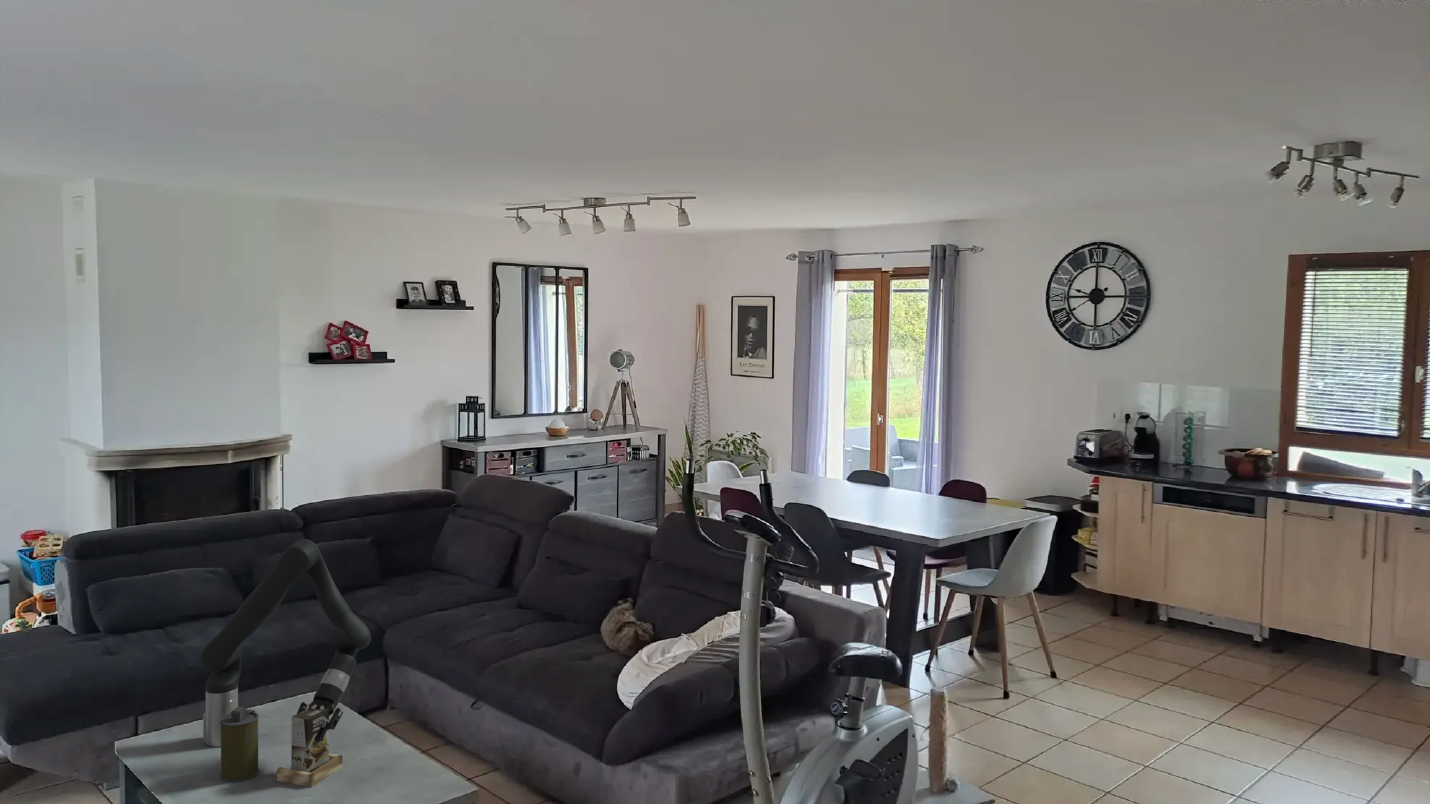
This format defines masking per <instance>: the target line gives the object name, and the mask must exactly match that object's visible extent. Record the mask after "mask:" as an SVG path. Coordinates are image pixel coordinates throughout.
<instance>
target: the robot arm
mask: <svg viewBox="0 0 1430 804" xmlns="http://www.w3.org/2000/svg"><path fill="white" fill-rule="evenodd" d="M304 573H306V574H307V576H308V577H309V578H310V579H309V580H310V581H311V582H312V585H313V586H314V590H315V592H316V597H317V601H318V603H319V606H320V608H321V610H322V612H323V614H324V615H325V617H326V618H327V619H328V621H329V623H330V625H332V627H334V628H335V629H340V630H341V631H342V632H343V634H342V635H340V636H341V637H339V641H338V643H337V645H336V649H335V655H334V657H333V659H332V660H331V662H330V665H329V667H328V669H327V671H326V672H325V674H324V675H323V677H322V679H321V681H320V683H319V685H318V687H317V689H316V692H315V693H314V695H313V700H312V701H311V702H310V703H306V702H304V701H302V702H301V703H300V705H299V707H298V710H297V712H296V714H298V713H300V712H302V711H304V710H307V709H309V708H312V709H315V708H320V709H322V710H324V709H329V721H328V720H327V719H326V717H325V716H324V718H323V722H322V724H321V725H322V728H320V729H319V731H318V733H317V735H316V737H315V741H316V742H320V741H322V740H323V738H324V736H325V734H326V732H327V731H328V730H329V731H330V730H332V731H333V730H335V729H336V727H337V726H338V723H339V721H340V720H341V718H342V716H343V714H344V711H343V710H342V709H341V708H340V707H337V706H338V705H339V703H340V701H341V699H342V697H343V695H344V693H345V690H346V688H347V686H348V684H349V681H350V679H351V676H352V674H353V673H354V670H355V667H356V664H357V660H356V658H355V657H356V655H357V653H358V652H359V651H360V650H363V649H365V648H367V647H368V646H370V643H371V641H372V634H371V631H370V629H369V628H368V626H367V625H366V624H365V623H364V622H363V621H362V620H361V619H360V618H359V617H358V616H357V615H356V614H354V612H353V610H352V609H351V608H350V606H349V605H348V603H347V601H346V600H345V599H344V596H342V594H341V592H340V591H339V588H338V587H337V585H336V583H335V582H334V579H333V578H332V575H331V574H330V571H329V569H328V566H327V565H326V562H325V560H324V557H323V555H322V553H321V550H320V549H319V547H318V545H317V544H316V543H315V542H314V541H312V540H310V539H307V538H305V539H299V540H298V541H295V542H294V543H293V544H291V545H289V546H288V547H287V548H286V549H285V550H284V551H283V553H282V554H281V556H280V557H279V560H277V562H276V564H275V566H274V567H273V568H272V570H271V572H269V574H268V575H267V576H266V577H265V578H264V579H263V580H262V581H261V582H260V583H259V584H258V585H257V586H256V587H255V588H254V589H253V591H252V592H251V593H249V595H248V596H247V597H246V598H245V600H244V601H242V603H241V605H240V606H239V607H238V609H237V610H236V611H235V613H234V614H233V615H232V616H231V617H230V619H229V621H228V622H227V623H226V625H225V626H224V627H223V628H222V630H221V631H219V632H218V634H216V636H214V638H212V640H211V641H209V643H208V644H206V645H205V646H204V647H203V649H202V650H201V652H200V656H199V661H200V665H201V667H202V668H203V670H205V671H207V672H210V676H208V678H207V680H206V681H205V712H204V713H202V714H203V715H202V716H203V717H202V718H203V719H202V725H203V726H202V728H203V729H202V730H203V731H202V733H203V734H202V735H203V743H205V744H206V745H207V746H210V747H221V723H220V719H221V718H222V717H223V716H225V715H227V714H230V713H231V711H232V710H234V709H235V708H237V707H239V687H238V686H239V680H240V677H241V673H242V672H241V671H242V669H241V668H242V649H241V645H242V643H243V642H245V641H246V640H247V639H248V638H249V637H250V636H252V635H253V634H254V633H255V632H257V631H258V630H259V629H260V628H261V627H262V626H263V625H264V624H265V623H266V622H267V621H268V620H269V619H270V617H271V616H273V614H274V613H275V612H276V610H277V609H278V608H279V606H280V605H281V603H282V602H283V599H284V597H285V595H286V593H287V591H288V590H289V588H291V586H292V585H293V584H294V583H295V582H296V581H297V580H298V579H299V578H300V577H301V576H302V575H304ZM331 715H332V716H331ZM330 716H331V717H330ZM326 722H327V724H326Z"/></svg>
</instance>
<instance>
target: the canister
mask: <svg viewBox="0 0 1430 804" xmlns="http://www.w3.org/2000/svg"><path fill="white" fill-rule="evenodd" d="M259 717H260V715H259V713H258V712H256V710H254V709H248V708H247V707H241V706H238V707H237V708H235V709H234V710H232V711H231V713H230V714H227V715H225V716H223V717H222V718H221V719H220V723H221V746H220V777H219V778H220V780H222V781H223V782H227V783H238V782H239V783H240V782H242V781H243V782H244V781H247V780H250V779H253V778H254V777H256V776H257V775H258V774H259V773H260V769H259Z"/></svg>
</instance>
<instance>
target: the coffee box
mask: <svg viewBox="0 0 1430 804" xmlns="http://www.w3.org/2000/svg"><path fill="white" fill-rule="evenodd" d="M324 716H325V717H326V719H327V720H328V721H329V709H324V710H322V709H320V708H315V709H312V708H309V709H307V710H304V711H302V712H300V713H298V714H297V713H296V714H294V715H292V716H291V739H290V740H291V742H290V743H291V746H290V747H291V749H290V750H291V751H290V752H291V753H290V755H291V761H290V762H291V763H290V764H291V765H290V769H291V768H292V769H296V770H300V771H304V772H309V771H310V770H312V769H314V768H316V767H318V766H320V765H322V764H323V763H325V762H327V761H329V753H330V730H328V731H327V732H326V734H325V736H324V738H323V740H322V741H320V742H316V741H315V737H316V735H317V733H318V731H319V729H320V728H322V725H321V724H322V722H323V718H324ZM326 724H327V722H326Z"/></svg>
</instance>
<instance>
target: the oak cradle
mask: <svg viewBox="0 0 1430 804" xmlns="http://www.w3.org/2000/svg"><path fill="white" fill-rule="evenodd" d="M341 768H343V755H341V754H337V753H335V754H334V753H330V752H329V761H327V762H325V763H323V764H322V765H320V766H318V767H316V768H314V769H312V770H310V771H309V772H304V771H300V770H296V769H292V768H291V767H290V768H287V767H281V766H279V767H278V768H276V781H277V782H282V783H288V784H291V785H292V784H293V785H299V786H303V787H304V786H305V787H310V788H312V787H314V786H316V785H317V784H318V783H321V782H322V781H323V780H324V779H326V778H328V777H329V776H331V775H333V774H334V773H336V772H337V771H338V770H340V769H341Z"/></svg>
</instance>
